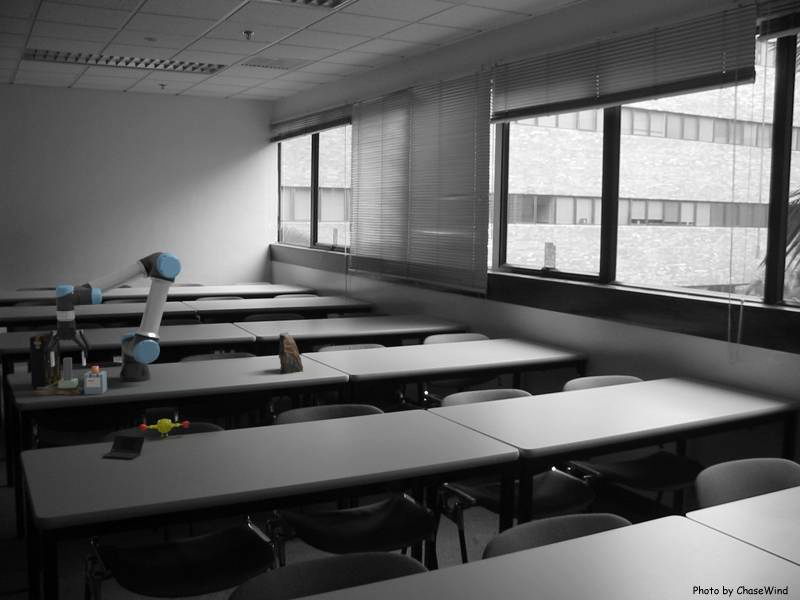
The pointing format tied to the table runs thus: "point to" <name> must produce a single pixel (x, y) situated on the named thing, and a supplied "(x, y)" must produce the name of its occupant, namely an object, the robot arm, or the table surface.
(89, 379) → the gauge cabinet
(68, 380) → the grey post stand
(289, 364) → the brown rock
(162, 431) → the toy figure
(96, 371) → the reset pin
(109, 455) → the black laptop
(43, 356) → the black upright box
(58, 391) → the rail bed
